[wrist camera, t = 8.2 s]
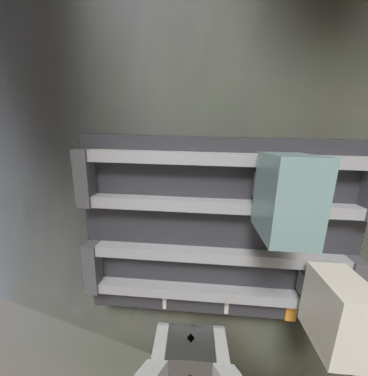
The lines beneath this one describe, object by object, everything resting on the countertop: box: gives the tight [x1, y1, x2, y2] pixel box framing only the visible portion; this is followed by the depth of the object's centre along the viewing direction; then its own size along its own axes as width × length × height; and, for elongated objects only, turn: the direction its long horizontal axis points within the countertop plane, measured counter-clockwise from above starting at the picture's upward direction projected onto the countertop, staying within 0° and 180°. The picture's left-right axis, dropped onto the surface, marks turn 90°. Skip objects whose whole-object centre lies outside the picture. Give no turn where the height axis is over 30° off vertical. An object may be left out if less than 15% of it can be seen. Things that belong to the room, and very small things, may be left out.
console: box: [69, 134, 368, 322], centre depth 16 cm, size 20×14×3 cm
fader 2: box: [296, 261, 368, 376], centre depth 13 cm, size 2×4×5 cm, turn 179°
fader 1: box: [251, 151, 341, 254], centre depth 11 cm, size 2×4×5 cm, turn 178°
